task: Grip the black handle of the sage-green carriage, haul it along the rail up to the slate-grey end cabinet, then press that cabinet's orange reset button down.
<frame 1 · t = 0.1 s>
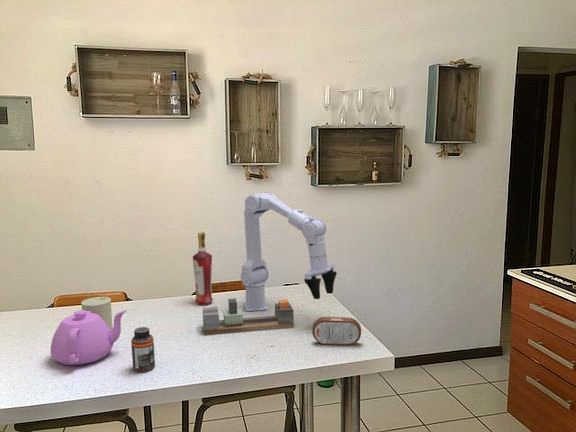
hand: (323, 295, 165), 11 cm above the table, tool pointing down, fingers open, 7 cm apart
teapot: (91, 356, 145), on the table
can: (98, 335, 162), on the table
liquor: (204, 303, 193), on the table
rail base: (248, 326, 167), on the table
carriage: (232, 311, 165), point 6 cm above the table, slide at 0.0 cm
reset button: (283, 306, 168), point 6 cm above the table, slide at 0.0 cm
tin: (336, 344, 151), on the table
supplement bottle: (144, 368, 137), on the table
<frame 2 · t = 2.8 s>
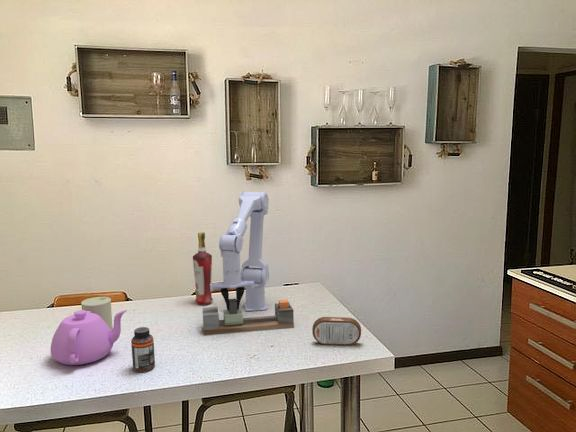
hand: (232, 309, 165), 6 cm above the table, tool pointing down, fingers closed on carriage, 2 cm apart
carriage: (232, 311, 165), point 6 cm above the table, slide at 0.0 cm, touching gripper
everything else where it was.
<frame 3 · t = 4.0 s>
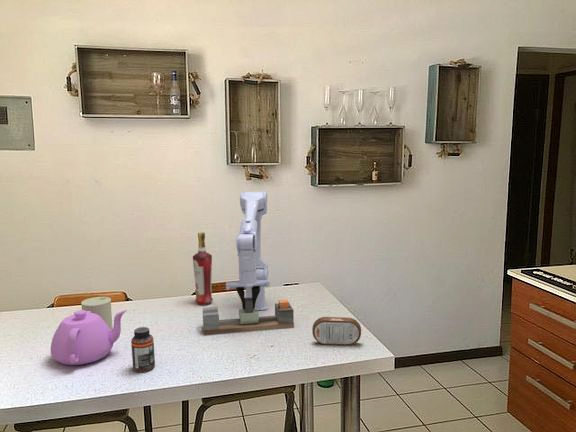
hand: (248, 308, 166), 6 cm above the table, tool pointing down, fingers closed on carriage, 2 cm apart
carriage: (248, 310, 166), point 6 cm above the table, slide at 5.3 cm, touching gripper
everything else where it was.
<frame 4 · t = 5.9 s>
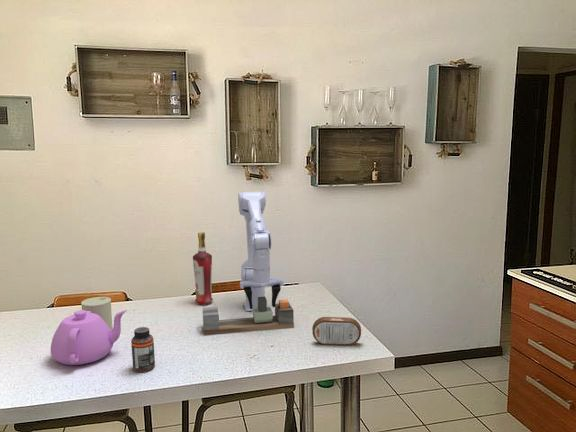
hand: (262, 307, 167), 6 cm above the table, tool pointing down, fingers open, 7 cm apart
carriage: (262, 309, 167), point 6 cm above the table, slide at 10.0 cm
everything else where it was.
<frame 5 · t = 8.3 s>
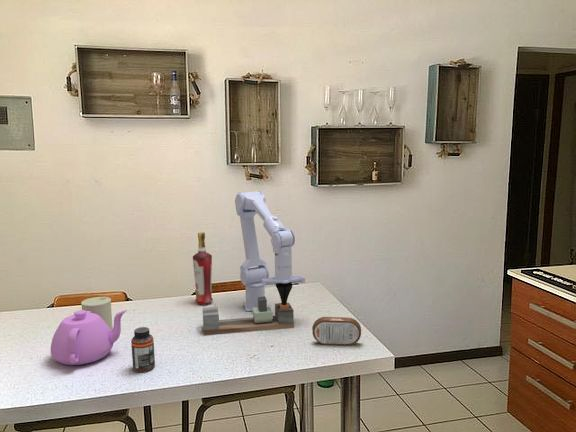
hand: (283, 304, 168), 7 cm above the table, tool pointing down, fingers closed, pressing on reset button
reset button: (283, 309, 169), point 5 cm above the table, slide at 1.1 cm, touching gripper
everything else where it was.
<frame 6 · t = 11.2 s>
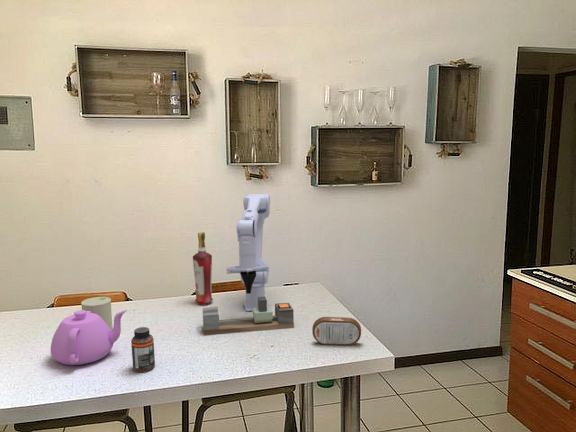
hand: (248, 292, 170), 10 cm above the table, tool pointing down, fingers closed
reset button: (284, 310, 169), point 5 cm above the table, slide at 1.6 cm
everything else where it was.
at the end: carriage slide at 10.0 cm; reset button slide at 1.6 cm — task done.
